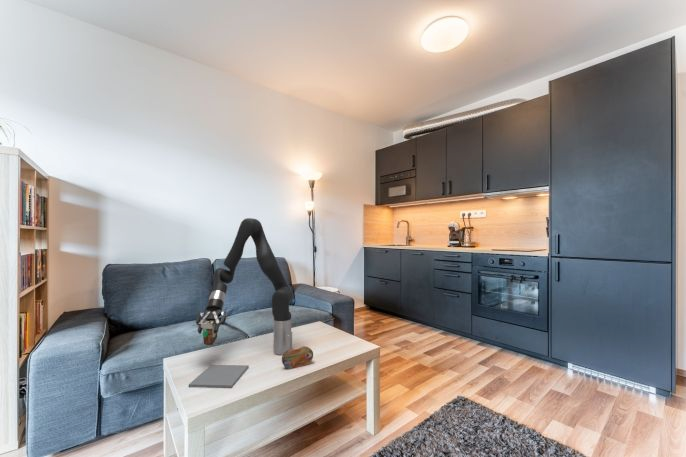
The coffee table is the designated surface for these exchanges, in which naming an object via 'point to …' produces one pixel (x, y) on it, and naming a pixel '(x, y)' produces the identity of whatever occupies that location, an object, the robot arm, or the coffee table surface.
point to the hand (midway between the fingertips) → (207, 332)
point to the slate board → (219, 376)
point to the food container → (209, 331)
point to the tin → (297, 357)
